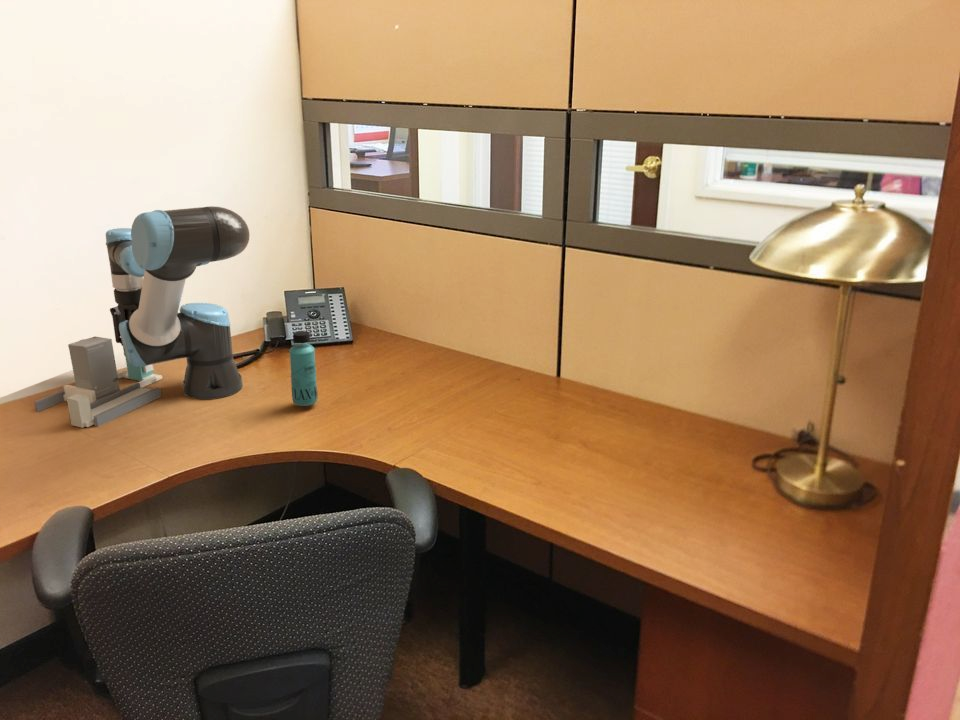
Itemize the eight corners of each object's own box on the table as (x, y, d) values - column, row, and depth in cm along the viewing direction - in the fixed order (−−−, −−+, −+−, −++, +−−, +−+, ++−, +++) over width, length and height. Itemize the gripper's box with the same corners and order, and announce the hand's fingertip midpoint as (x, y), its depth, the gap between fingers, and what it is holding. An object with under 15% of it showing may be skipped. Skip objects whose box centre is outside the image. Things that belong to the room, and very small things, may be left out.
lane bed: (161, 396, 198) (160, 387, 198) (98, 426, 181) (96, 417, 180) (101, 383, 206) (100, 374, 205) (36, 410, 189) (34, 401, 188)
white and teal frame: (162, 378, 209) (157, 340, 205) (96, 408, 190) (89, 367, 186) (131, 371, 213) (126, 334, 209) (64, 400, 194) (56, 360, 190)
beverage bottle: (287, 408, 193) (281, 334, 186) (302, 399, 199) (297, 327, 191) (309, 413, 190) (304, 338, 183) (323, 403, 196) (319, 330, 189)
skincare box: (96, 407, 191) (86, 348, 186) (76, 401, 194) (65, 343, 189) (123, 395, 199) (114, 338, 193) (103, 390, 201) (93, 333, 196)
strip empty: (156, 394, 199) (152, 369, 196) (85, 428, 179) (80, 401, 177) (141, 391, 201) (137, 366, 198) (69, 424, 181) (64, 397, 179)
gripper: (166, 288, 201) (176, 369, 209) (113, 280, 207) (125, 360, 215) (144, 295, 194) (156, 379, 202) (91, 286, 200) (104, 368, 208)
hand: (140, 369), depth 209 cm, fingers closed on white and teal frame, 5 cm apart
